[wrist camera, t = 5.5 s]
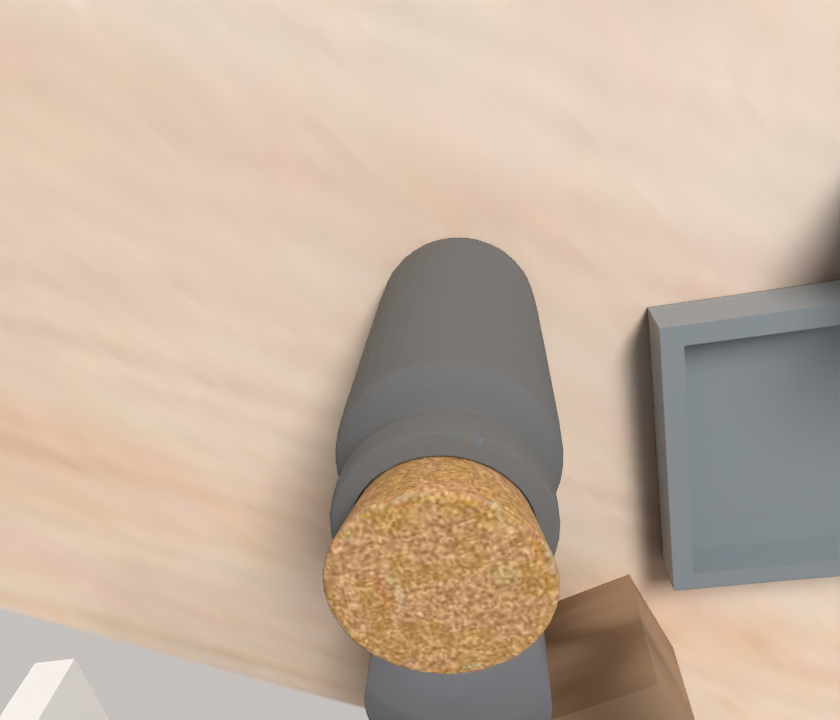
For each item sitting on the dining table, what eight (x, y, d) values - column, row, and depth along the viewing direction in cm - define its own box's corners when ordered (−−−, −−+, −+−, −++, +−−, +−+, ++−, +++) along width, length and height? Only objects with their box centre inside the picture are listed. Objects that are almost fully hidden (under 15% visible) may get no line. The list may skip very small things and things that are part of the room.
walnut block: (575, 679, 36) (592, 798, 31) (528, 611, 34) (538, 724, 29) (672, 646, 35) (708, 764, 29) (628, 573, 33) (658, 684, 28)
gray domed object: (401, 638, 36) (385, 774, 29) (371, 523, 33) (345, 646, 26) (546, 626, 35) (561, 763, 28) (528, 506, 32) (540, 630, 25)
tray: (663, 558, 32) (674, 590, 30) (647, 307, 27) (659, 328, 26) (958, 529, 31) (988, 562, 29) (998, 257, 26) (1038, 275, 24)
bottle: (531, 379, 29) (578, 702, 16) (384, 376, 29) (306, 689, 16) (539, 235, 26) (603, 471, 13) (378, 234, 27) (278, 463, 13)
